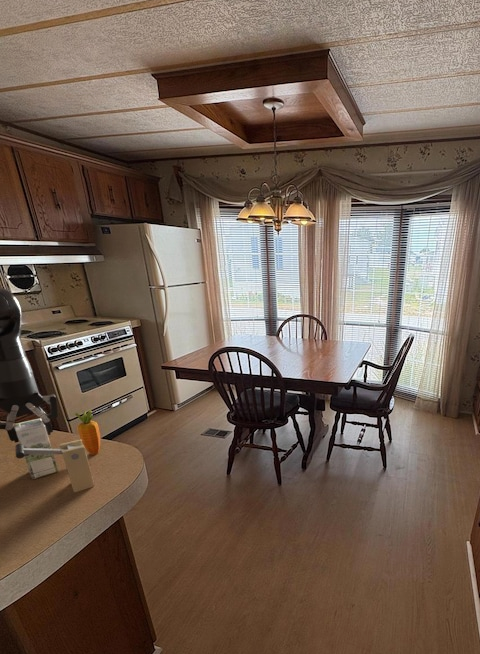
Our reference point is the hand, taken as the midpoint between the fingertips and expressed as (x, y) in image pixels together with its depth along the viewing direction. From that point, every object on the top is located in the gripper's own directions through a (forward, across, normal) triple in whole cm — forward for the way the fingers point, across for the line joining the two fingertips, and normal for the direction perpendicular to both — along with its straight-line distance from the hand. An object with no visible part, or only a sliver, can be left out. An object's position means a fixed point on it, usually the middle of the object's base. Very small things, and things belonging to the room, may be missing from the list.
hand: (33, 437), depth 88 cm
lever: (0, -2, +13) cm, 13 cm away
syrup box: (+11, 0, 0) cm, 11 cm away
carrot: (+12, -12, -3) cm, 17 cm away
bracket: (+12, -7, +13) cm, 19 cm away
